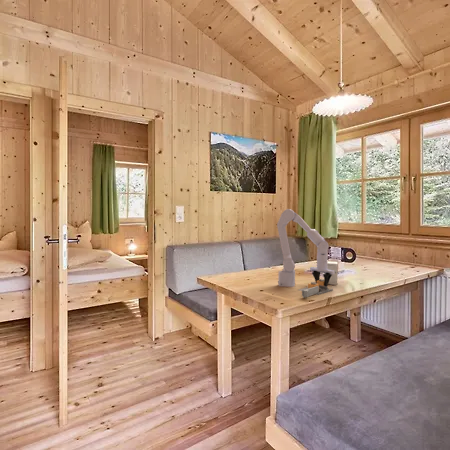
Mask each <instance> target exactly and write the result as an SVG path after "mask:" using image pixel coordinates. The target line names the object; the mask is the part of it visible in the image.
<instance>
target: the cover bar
mask: <svg viewBox="0 0 450 450" xmlns="http://www.w3.org/2000/svg"><path fill="white" fill-rule="evenodd" d="M317 293H319V286H316V287H312V288H309V289H305V290H302V291H301V297H302V298H308V297H310V296H313V295H316V294H317Z"/></svg>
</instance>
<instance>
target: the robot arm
mask: <svg viewBox="0 0 450 450" xmlns="http://www.w3.org/2000/svg"><path fill="white" fill-rule="evenodd" d="M291 221H292V222H294V223H297V224H298V225H299V226H300V228H302V229H303V230H304V231H305V232H306V237H307V238H308V239H309V240H310V241H311V242H312V243H313V244H314V245H315V246H316V248H317V249H316V252H317V253H316V266H310V267H309V271H311V274H312V276H313V278H314V281H315V283H316V284H317V281H318V280H319V279H321V278H320V276H321V273H323V275H322V276H323V279H324V286H327V287H328V286H329V284H328V282H329V280H330V278H331V276H332V275H333V274H335V271H333V270H330V269H327V262H328V261H329V260H328V257H329V256H328V250H329V246H330V245H329V243H328V241H326V239H325V237H324V236H322V235H321V234H320V233H319V230H316V229H315V228H311V227H310V226H309V225H308V223H307V222H306V221H305V220H304V219H303V218H302V216H300V215H299V214H298V213H296V212H295V211H294V210H293V209H291V208H286V209H285V210H283V212H282V213H281V215H280V216H279V219H278V221H277V223H276V225H277V226H276V227H277V232H278V236H279V238H278V239H279V242H280V246H281V248H280V249H281V252H282V258H283V261H282V266H283V268H282V269H281V270H278V279H277V280H278V281H277V283H278V285H277V286H278V287H288V288H289V287H290V288H293V287H295V286H296V270H295V267H296V264H295V261H294V259H293V257H292V253H291V249H290V244H289V239H288V233H287V228H286V227H287V226H288V224H289V222H291ZM324 273H326V274H324Z"/></svg>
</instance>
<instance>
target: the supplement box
mask: <svg viewBox="0 0 450 450" xmlns="http://www.w3.org/2000/svg"><path fill="white" fill-rule="evenodd" d="M338 266H339V261H329V260H328V262H327V269H330V270H333V271H335V274H333V275H332V276H331V278H330V280H329V282H328V285H331V286H332V285H335V286H337V285H338V271H339V270H338V268H339V267H338ZM323 274H326V273H323Z"/></svg>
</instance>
